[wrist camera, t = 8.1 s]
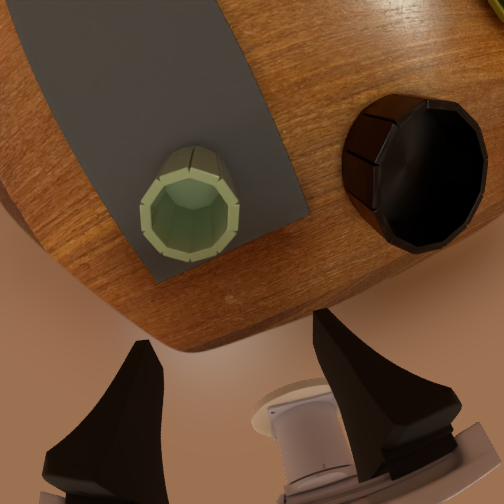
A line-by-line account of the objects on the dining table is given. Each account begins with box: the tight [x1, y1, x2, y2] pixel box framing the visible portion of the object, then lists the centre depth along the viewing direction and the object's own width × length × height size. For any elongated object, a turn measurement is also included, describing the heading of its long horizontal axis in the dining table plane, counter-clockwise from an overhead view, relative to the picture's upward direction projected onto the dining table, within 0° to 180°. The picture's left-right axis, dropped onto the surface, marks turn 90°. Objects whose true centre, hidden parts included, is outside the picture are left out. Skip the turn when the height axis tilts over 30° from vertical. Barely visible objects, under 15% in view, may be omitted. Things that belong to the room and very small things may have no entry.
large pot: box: [342, 94, 488, 255], centre depth 18 cm, size 10×10×4 cm
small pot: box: [140, 146, 240, 262], centre depth 16 cm, size 4×5×6 cm
